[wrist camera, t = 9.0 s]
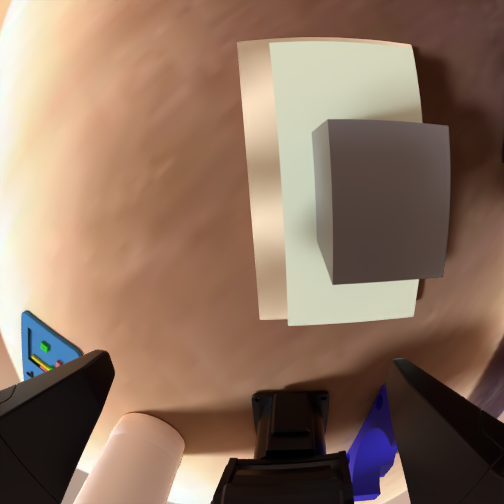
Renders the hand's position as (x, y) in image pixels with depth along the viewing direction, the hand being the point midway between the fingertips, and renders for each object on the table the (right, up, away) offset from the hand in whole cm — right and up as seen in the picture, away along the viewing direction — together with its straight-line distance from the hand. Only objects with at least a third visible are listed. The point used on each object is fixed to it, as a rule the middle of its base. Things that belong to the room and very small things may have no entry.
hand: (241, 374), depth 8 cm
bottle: (-11, -16, +19) cm, 28 cm away
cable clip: (+13, -14, +16) cm, 25 cm away
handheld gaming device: (-23, -10, +19) cm, 32 cm away
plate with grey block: (+5, +7, +6) cm, 10 cm away
